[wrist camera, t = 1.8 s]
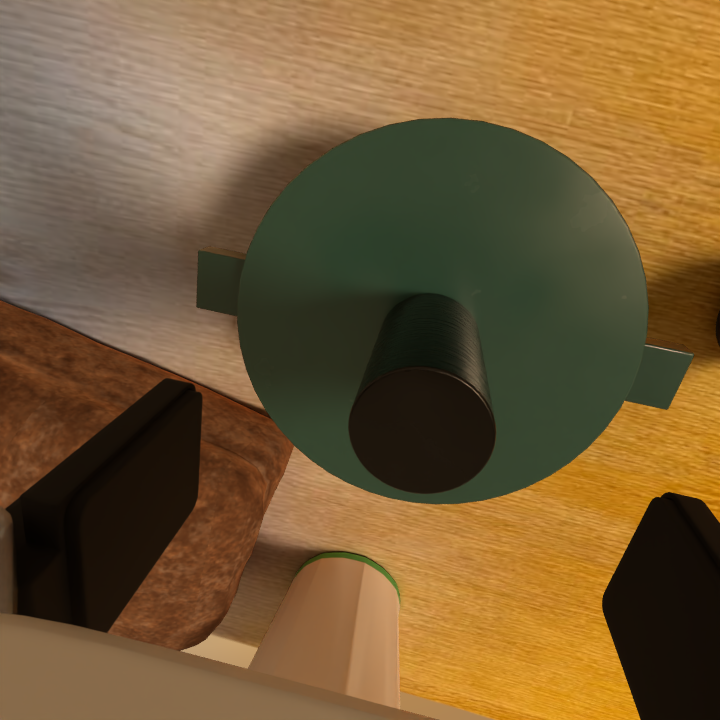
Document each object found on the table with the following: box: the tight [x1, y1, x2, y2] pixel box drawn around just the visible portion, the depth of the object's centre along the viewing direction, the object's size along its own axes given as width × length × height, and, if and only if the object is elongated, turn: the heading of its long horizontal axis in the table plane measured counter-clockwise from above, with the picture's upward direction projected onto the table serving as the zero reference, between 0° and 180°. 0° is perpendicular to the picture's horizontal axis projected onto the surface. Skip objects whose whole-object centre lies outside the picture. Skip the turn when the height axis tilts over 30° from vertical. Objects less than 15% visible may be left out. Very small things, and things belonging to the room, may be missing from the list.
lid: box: [237, 118, 649, 504], centre depth 16 cm, size 15×15×8 cm
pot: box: [196, 246, 694, 410], centre depth 23 cm, size 14×19×10 cm
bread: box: [0, 300, 294, 651], centre depth 31 cm, size 17×29×12 cm, turn 68°
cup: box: [248, 552, 400, 709], centre depth 32 cm, size 12×12×15 cm
